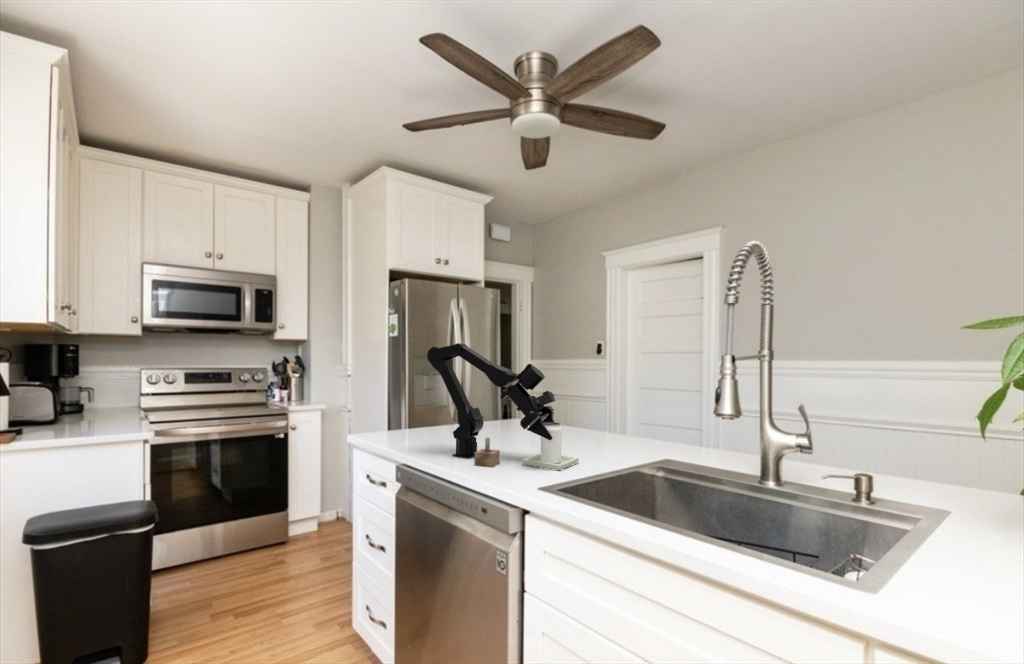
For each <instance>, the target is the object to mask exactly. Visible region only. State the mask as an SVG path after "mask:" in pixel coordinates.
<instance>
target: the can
mask: <svg viewBox="0 0 1024 664" xmlns="http://www.w3.org/2000/svg"><path fill="white" fill-rule="evenodd" d="M543 424H544V425H545V427H546V428H547V430H548V431H549V433H550V434H551V436H552V439H551V440H548V439H546V438H544V437H542V436H540V454H541V461H542V462H545V463H551V464H559V463H560V462H561V456H562V447H563V446H562V443H563V442H562V439H563V438H562V435H563V434H562V433H563V432H562V431H563V429H562V427H561V423H559V422H555V423H553V422H547V423H543Z"/></svg>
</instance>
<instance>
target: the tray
mask: <svg viewBox="0 0 1024 664" xmlns="http://www.w3.org/2000/svg"><path fill="white" fill-rule="evenodd" d="M579 461H580V460H579V457H573V456H567V455H561V462H560V463H559V464H551V463H545V462H542V461H541V453H539V454H536V455H533V456H530V457H527V458H524V459H522V466H524V465H528V466H527V467H531V466H536V467H535V468H537V467H542V468H541V469H543V468H549V469H548V470H550V469H556V470H561V469H564V468H566V467H568V466H570V465H572V464H575V463H577V462H579ZM579 463H580V462H579ZM566 469H567V468H566ZM556 470H555V471H556ZM564 470H565V469H564Z"/></svg>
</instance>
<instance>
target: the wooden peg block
mask: <svg viewBox="0 0 1024 664" xmlns="http://www.w3.org/2000/svg"><path fill="white" fill-rule="evenodd" d="M484 440H485V441H484V448H481V449H478V450H477V452H475V456H474V466H475V467H485V468H486V467H487V468H494V467H496V466H497V465H499V464H500V454H501V453H500V449H490V446H491V445H490V444H491V438H490V437H485V438H484ZM498 463H499V464H498ZM495 465H496V466H495Z"/></svg>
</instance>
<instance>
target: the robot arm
mask: <svg viewBox="0 0 1024 664" xmlns="http://www.w3.org/2000/svg"><path fill="white" fill-rule="evenodd" d="M426 357H427V361H428V362H429V363H430V365H431V367H432V368H433V369H434V370H435V371H437V373H438V374H440V377H441V378H442V381H443V383H444V384H445V387H446V390H447V392H448V393H449V396H450V397H451V400H452V402H453V405H454V406H455V408H456V411H457V422H458V426H457V428H456V429H455V430H453V432H452V435H453V438H454V439H455V453H453V454H452V456H454V457H456V458H457V457H459V458H465V459H469V458H473V457H475V452H477V451H478V442H477V436H478V435H479V433H480V431H481V430H482V429H483V427H484V418H485V417H484V416H483V415H482V413H481V411H480V408H479V407H475V408H474V407H473V406H472V405H471V404H470V402H469V400H468V398H467V395H466V393H465V392H464V391H465V390H464V389H463V387H462V385H461V383H460V381H459V379H458V377H457V374H456V372H455V370H454V367H453V364H454V362H453V359H455V358H458V357H460V358H462V359H463V360H464V361H466V362H467V363H468V364H470V365H471V366H473V367H474V368H476V369H478V370H479V371H480V372H483V374H484V375H485V376H486V378H488V381H490V382H491V383H492V384H493V385H494V386H496V387H498V388H505V387H507V388H506V389H503V390H501V391H500V392H501V396H500V399H501V400H505V399H507V398H509V400H510V401H511V402H512V403H513V404H514V405H515V406H516V410H517V412H521V413H522V414H523V416H524V417H523V418H522V419H521V420H520V423H519V424H520V426H521V427H522V429H523V430H526V431H529V432H532V433H533V434H536V435H538V436H540V437H541V436H542V437H544V438H546V439H548V440H551V439H552V436H551V434H550V433H549V431H548V430H547V428H546V427H545V425H544V424H543V423H547V422H553V423H556V422H555V419H554V414H555V411H554V410H555V409H554V408H553V407H552V406H551V405H548V404H551V403H553V402H556V399H555V394H554V393H553V392H552V391H550V390H546V391H543V392H542V395H540V396H535V395H531V394H530V393H529V392H528V391H529V390H531V391H533V390H535V388H536V387H537V386H538V385H539V384H541V382H542V381H543V380H544V379H545V378H546V377H545V374H544V373H543V372H542V371H541V370H540V369H538V367H536V366H534V365H533V364H532V363H528V364H527V365H526V366H525V367H524V369H523V370H521V372H520V373H514V372H513V371H512V370H511V369H509V368H506V367H505V366H502V365H498V364H497V363H493V362H491V360H489V359H487V358H486V357H484V356H482V355H481V354H480V353H478V352H476V351H475V350H474V349H472V348H471V347H470V346H468V345H467V344H466V343H463V342H462V343H461V342H459V343H458V342H457V343H454V344H451V345H446V346H432V347H431V348H430V349H429V350H428V351H427V353H426ZM514 382H516V383H514ZM513 383H514V384H513Z"/></svg>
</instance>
